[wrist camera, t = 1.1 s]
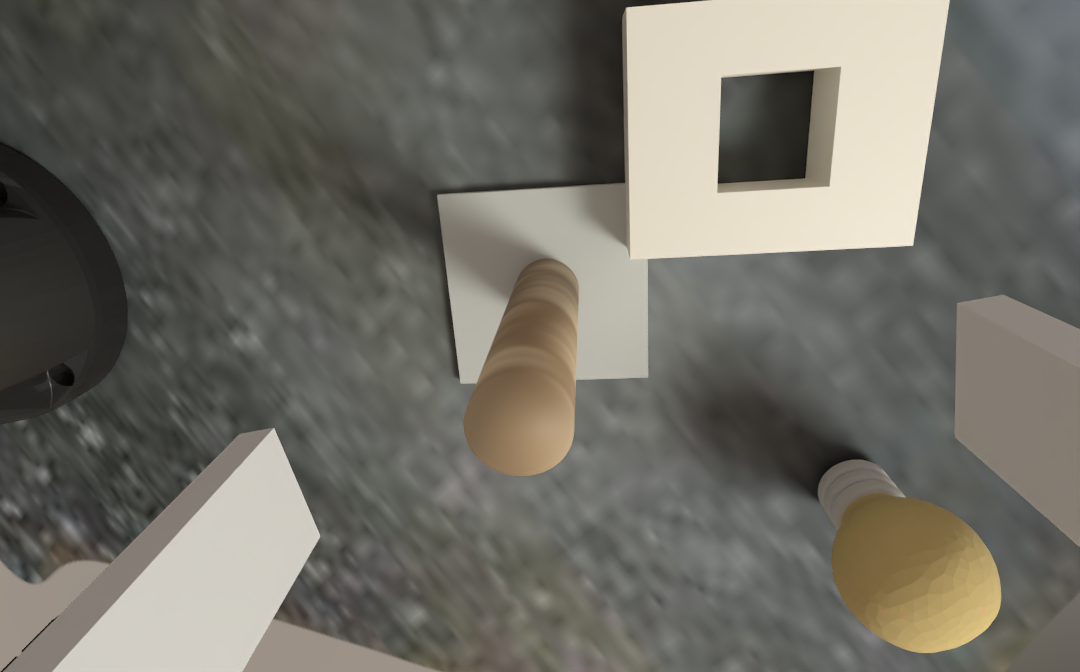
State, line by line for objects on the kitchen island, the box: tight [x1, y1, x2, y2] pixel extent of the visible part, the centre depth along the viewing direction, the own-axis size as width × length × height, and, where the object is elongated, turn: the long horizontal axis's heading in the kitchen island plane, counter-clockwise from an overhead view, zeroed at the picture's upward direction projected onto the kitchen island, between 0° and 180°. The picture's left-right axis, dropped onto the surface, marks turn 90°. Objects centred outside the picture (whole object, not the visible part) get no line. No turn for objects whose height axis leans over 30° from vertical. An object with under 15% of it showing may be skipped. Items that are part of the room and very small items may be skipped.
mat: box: [437, 183, 648, 384], centre depth 31 cm, size 10×10×1 cm
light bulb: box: [818, 459, 1001, 653], centre depth 29 cm, size 6×6×10 cm
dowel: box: [464, 259, 579, 476], centre depth 24 cm, size 3×3×14 cm
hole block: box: [622, 0, 950, 260], centre depth 26 cm, size 12×10×3 cm
